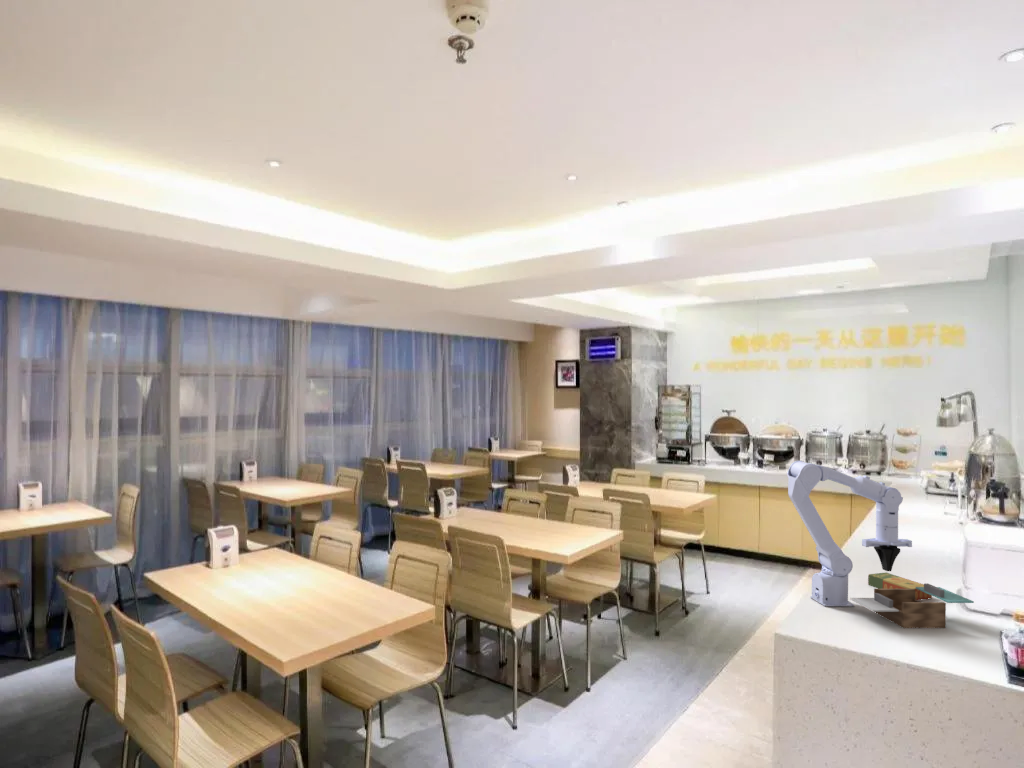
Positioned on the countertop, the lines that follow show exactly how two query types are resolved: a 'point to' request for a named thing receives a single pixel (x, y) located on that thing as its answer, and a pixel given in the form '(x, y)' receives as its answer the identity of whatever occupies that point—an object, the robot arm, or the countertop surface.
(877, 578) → the carton
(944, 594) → the upper lid
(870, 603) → the lower lid
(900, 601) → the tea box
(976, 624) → the countertop surface
